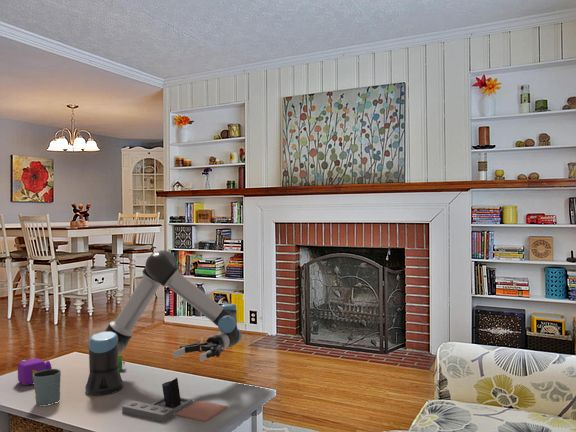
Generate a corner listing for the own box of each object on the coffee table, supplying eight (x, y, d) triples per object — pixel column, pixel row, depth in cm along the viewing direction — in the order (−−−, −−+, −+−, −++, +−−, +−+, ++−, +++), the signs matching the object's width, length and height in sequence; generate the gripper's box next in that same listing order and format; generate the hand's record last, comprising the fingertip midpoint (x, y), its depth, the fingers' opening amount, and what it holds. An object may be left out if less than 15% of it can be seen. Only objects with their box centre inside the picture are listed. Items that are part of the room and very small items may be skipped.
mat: (175, 415, 182) (175, 413, 182) (198, 401, 194) (198, 400, 194) (206, 421, 175) (206, 420, 175) (227, 407, 188) (227, 406, 188)
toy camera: (56, 378, 226) (56, 357, 226) (27, 387, 214) (26, 365, 214) (43, 374, 232) (42, 353, 232) (13, 383, 220) (13, 361, 220)
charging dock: (122, 412, 185) (121, 405, 185) (157, 395, 202) (157, 388, 202) (163, 422, 176) (163, 414, 176) (196, 402, 193) (196, 395, 193)
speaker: (185, 404, 192) (182, 377, 192) (173, 409, 187) (170, 382, 187) (173, 401, 196) (170, 375, 197) (161, 406, 192) (158, 380, 192)
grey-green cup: (57, 406, 193) (56, 375, 193) (29, 408, 191) (28, 377, 191) (64, 396, 203) (63, 367, 203) (38, 398, 201) (37, 369, 201)
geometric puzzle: (110, 363, 241) (109, 352, 236) (125, 361, 243) (124, 351, 238) (110, 375, 235) (109, 365, 231) (125, 373, 237) (124, 363, 233)
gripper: (241, 354, 214) (212, 369, 195) (195, 349, 225) (163, 362, 206) (240, 337, 213) (212, 350, 195) (194, 332, 225) (163, 344, 206)
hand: (187, 356), depth 200 cm, fingers open, 13 cm apart
